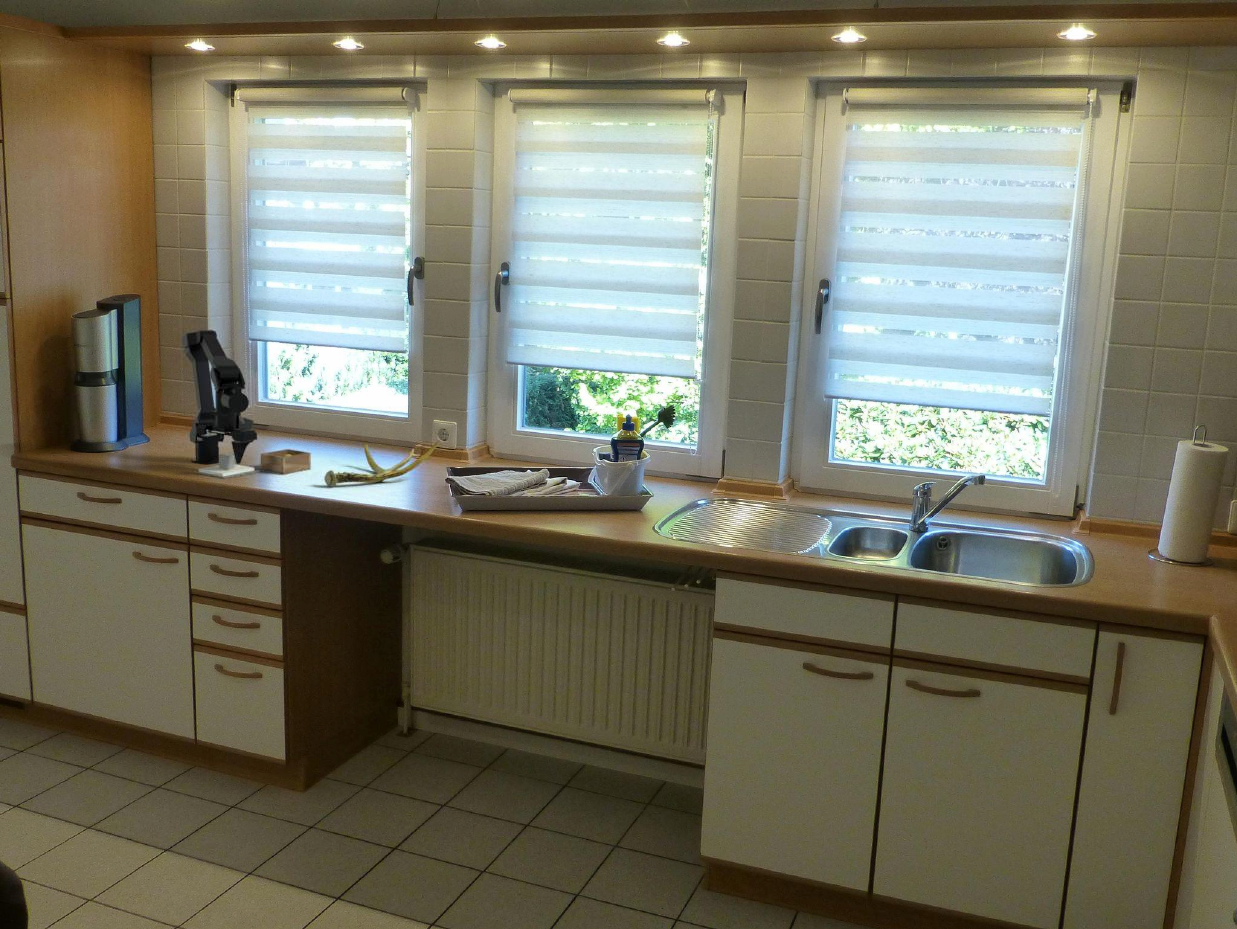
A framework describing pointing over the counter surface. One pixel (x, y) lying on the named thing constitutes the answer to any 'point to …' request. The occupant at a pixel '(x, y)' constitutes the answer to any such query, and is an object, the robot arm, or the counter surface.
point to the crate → (285, 461)
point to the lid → (226, 467)
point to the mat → (228, 475)
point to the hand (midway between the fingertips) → (226, 461)
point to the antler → (376, 470)
